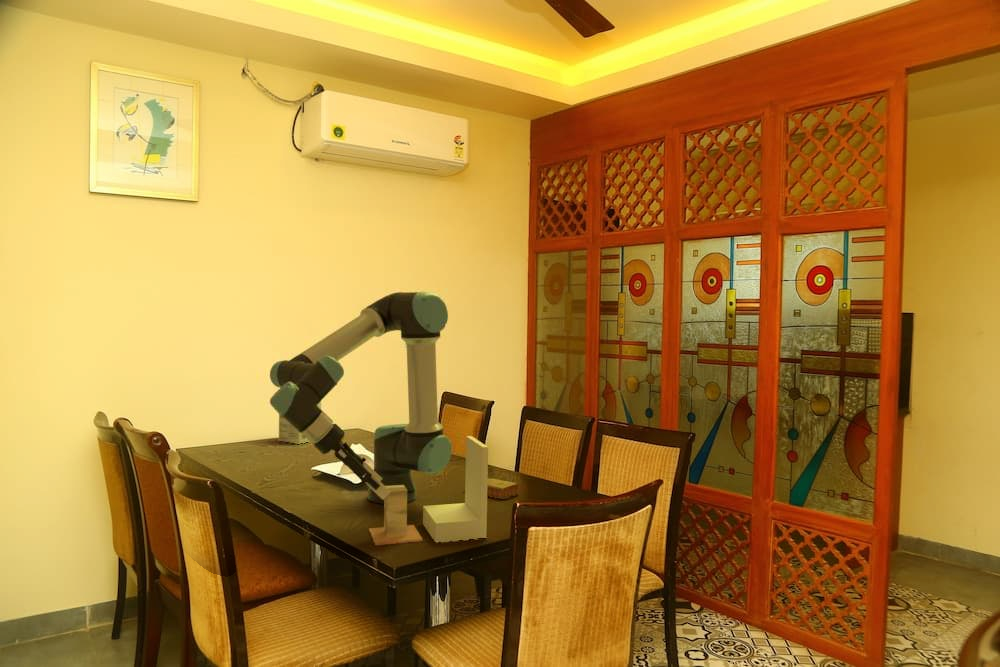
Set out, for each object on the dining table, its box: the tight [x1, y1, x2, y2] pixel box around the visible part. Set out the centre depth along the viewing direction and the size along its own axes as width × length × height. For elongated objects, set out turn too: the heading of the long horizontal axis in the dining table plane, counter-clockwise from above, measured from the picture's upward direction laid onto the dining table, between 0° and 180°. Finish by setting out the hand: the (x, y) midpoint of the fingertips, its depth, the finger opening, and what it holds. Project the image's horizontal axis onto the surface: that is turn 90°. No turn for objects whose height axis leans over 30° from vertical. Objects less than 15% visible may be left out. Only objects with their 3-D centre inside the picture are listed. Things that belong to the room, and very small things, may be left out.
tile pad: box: [368, 524, 424, 546], centre depth 175 cm, size 12×12×1 cm
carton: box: [487, 477, 519, 499], centre depth 219 cm, size 8×16×4 cm, turn 51°
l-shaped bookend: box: [422, 435, 489, 544], centre depth 179 cm, size 16×14×24 cm
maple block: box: [383, 485, 408, 538], centre depth 175 cm, size 6×5×12 cm
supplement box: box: [278, 401, 322, 445], centre depth 299 cm, size 13×13×18 cm
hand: (382, 488), depth 173 cm, fingers open, 13 cm apart
